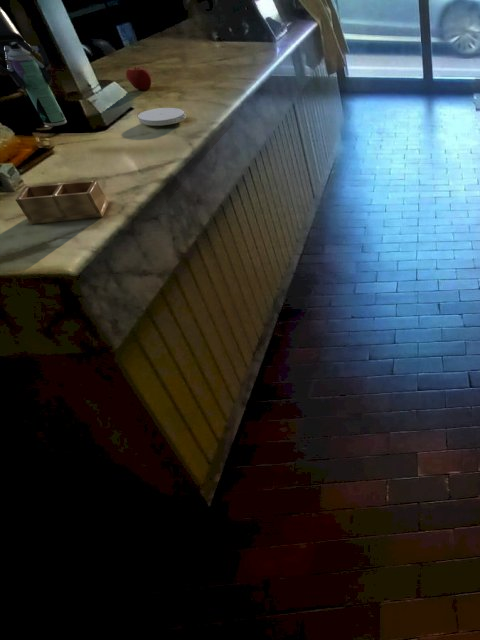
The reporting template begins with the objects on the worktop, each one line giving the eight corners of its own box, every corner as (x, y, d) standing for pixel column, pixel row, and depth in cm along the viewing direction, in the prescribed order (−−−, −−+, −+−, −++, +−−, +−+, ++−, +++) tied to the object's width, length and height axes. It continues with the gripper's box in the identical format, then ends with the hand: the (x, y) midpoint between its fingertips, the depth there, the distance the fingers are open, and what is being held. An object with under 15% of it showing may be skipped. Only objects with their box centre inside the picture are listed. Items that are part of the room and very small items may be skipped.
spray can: (62, 118, 152) (21, 39, 138) (70, 123, 150) (28, 43, 136) (41, 122, 149) (-3, 41, 135) (48, 127, 147) (4, 45, 133)
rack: (31, 224, 121) (14, 199, 117) (40, 209, 127) (25, 186, 122) (102, 216, 125) (89, 193, 121) (108, 203, 131) (96, 180, 126)
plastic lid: (168, 130, 169) (165, 122, 167) (131, 126, 171) (127, 118, 169) (196, 118, 179) (193, 110, 177) (160, 113, 181) (157, 106, 179)
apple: (129, 88, 200) (120, 65, 195) (151, 85, 204) (142, 62, 199) (136, 93, 196) (126, 69, 191) (158, 89, 201) (149, 67, 195)
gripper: (-41, 18, 132) (2, 80, 135) (25, 13, 140) (65, 72, 143) (-33, 39, 138) (9, 98, 141) (31, 33, 146) (69, 89, 149)
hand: (37, 85), depth 142 cm, fingers closed on spray can, 5 cm apart
